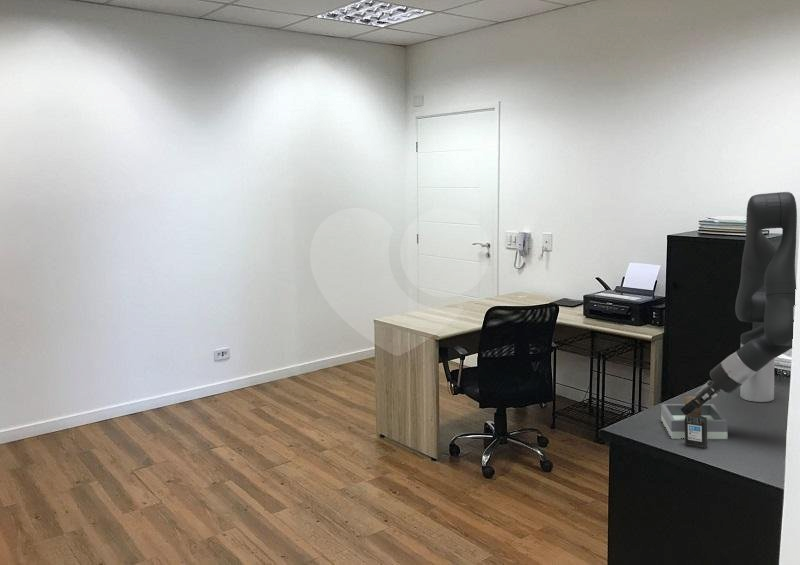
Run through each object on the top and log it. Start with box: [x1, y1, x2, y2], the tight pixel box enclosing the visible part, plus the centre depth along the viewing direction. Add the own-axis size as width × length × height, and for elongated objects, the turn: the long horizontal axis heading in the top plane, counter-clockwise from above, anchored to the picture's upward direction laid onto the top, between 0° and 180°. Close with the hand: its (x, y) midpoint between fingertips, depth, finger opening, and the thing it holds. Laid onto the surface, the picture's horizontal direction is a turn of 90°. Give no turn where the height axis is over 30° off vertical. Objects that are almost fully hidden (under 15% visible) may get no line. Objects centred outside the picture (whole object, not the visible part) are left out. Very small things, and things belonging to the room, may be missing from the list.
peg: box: [684, 395, 701, 417], centre depth 185 cm, size 4×4×8 cm
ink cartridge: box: [684, 415, 708, 450], centre depth 174 cm, size 5×2×8 cm, turn 51°
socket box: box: [660, 403, 728, 440], centre depth 186 cm, size 14×14×5 cm
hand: (685, 409), depth 186 cm, fingers closed on peg, 4 cm apart
